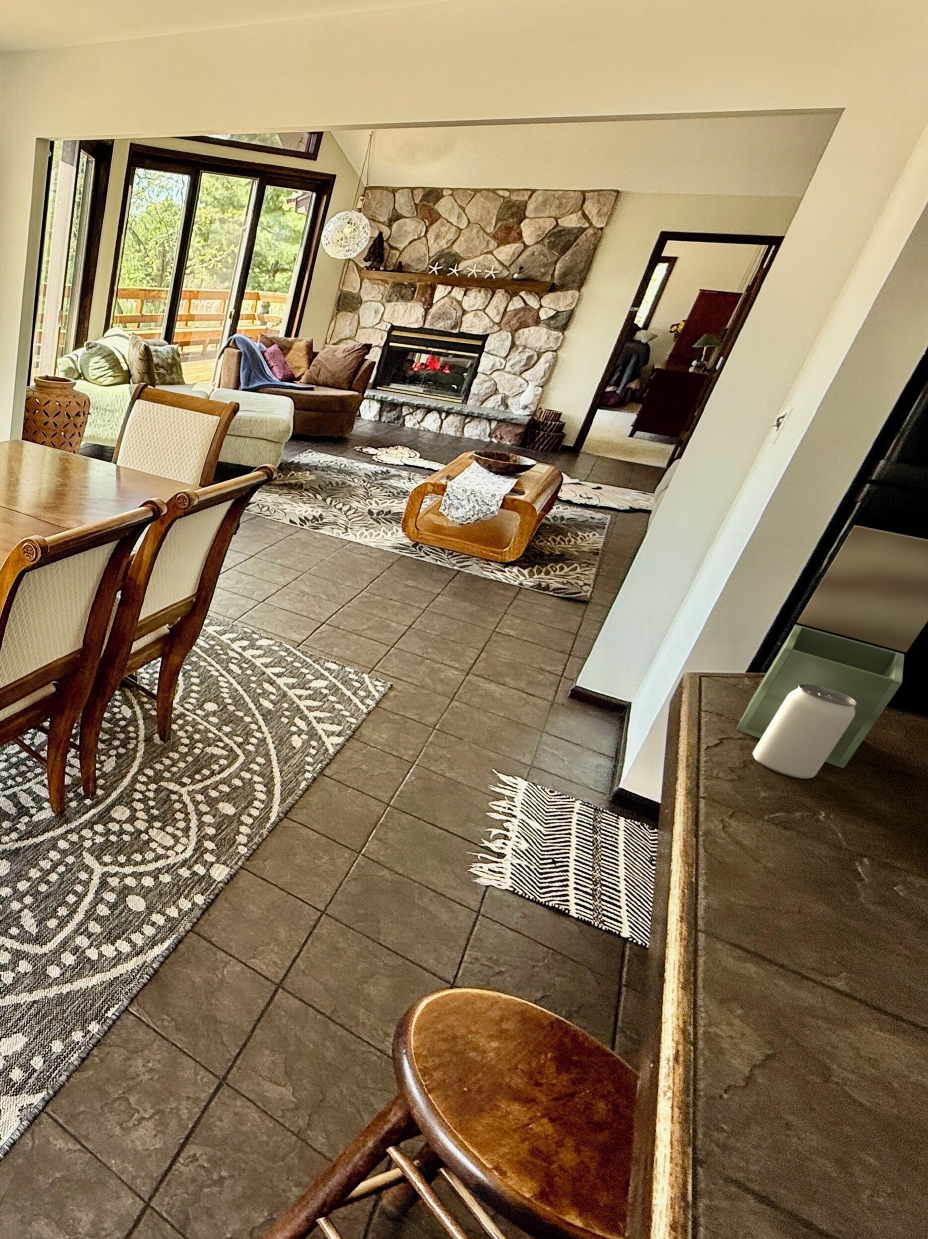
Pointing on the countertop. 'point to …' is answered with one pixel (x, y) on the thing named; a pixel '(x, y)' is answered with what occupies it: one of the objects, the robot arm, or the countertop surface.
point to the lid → (874, 589)
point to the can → (805, 731)
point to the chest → (828, 683)
